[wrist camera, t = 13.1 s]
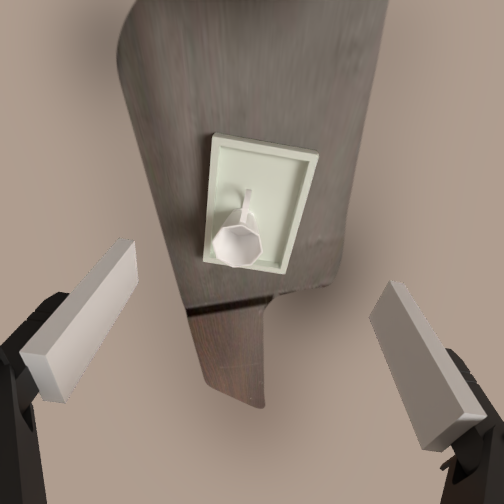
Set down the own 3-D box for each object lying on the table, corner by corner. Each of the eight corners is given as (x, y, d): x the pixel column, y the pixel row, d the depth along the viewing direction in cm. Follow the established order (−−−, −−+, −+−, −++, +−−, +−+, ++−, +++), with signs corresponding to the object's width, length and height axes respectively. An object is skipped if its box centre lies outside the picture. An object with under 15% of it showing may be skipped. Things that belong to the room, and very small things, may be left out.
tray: (215, 132, 38) (212, 136, 36) (316, 150, 38) (319, 155, 36) (205, 253, 49) (202, 261, 47) (284, 265, 49) (285, 274, 47)
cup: (217, 234, 45) (208, 263, 39) (226, 175, 40) (218, 197, 33) (258, 242, 46) (257, 272, 39) (274, 186, 40) (275, 209, 34)
